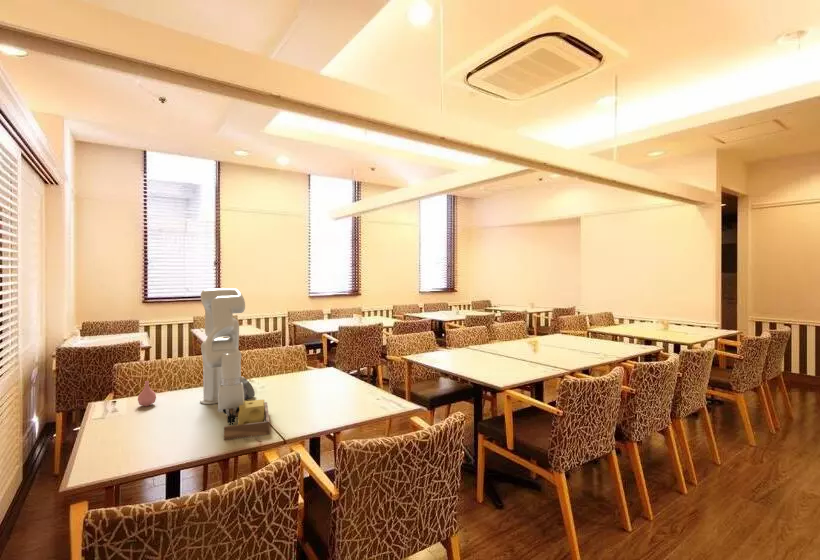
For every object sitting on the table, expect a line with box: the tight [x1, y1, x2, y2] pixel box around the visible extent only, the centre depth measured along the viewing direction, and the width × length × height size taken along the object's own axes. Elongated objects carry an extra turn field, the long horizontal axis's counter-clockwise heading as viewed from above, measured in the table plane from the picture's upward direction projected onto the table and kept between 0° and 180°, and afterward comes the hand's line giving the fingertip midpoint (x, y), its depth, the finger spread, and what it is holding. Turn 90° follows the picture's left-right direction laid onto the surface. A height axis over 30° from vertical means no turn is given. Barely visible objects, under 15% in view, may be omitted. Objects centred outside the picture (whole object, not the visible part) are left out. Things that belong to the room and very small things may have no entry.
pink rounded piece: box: [137, 380, 157, 407], centre depth 199 cm, size 8×8×12 cm
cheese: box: [237, 399, 265, 425], centre depth 174 cm, size 10×11×10 cm
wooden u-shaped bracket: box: [223, 401, 271, 441], centre depth 174 cm, size 26×17×5 cm, turn 22°
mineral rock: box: [242, 377, 256, 400], centre depth 215 cm, size 13×11×10 cm
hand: (231, 423), depth 172 cm, fingers closed
